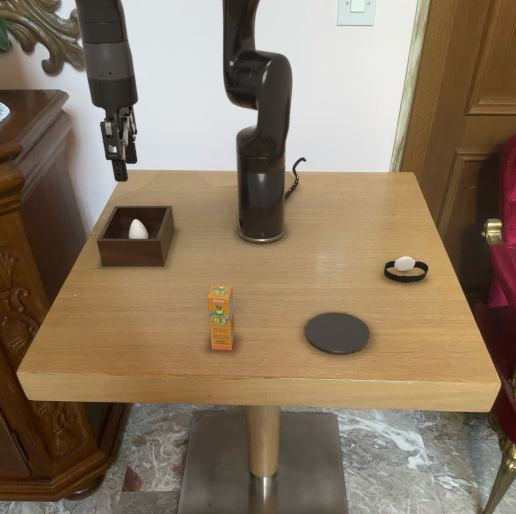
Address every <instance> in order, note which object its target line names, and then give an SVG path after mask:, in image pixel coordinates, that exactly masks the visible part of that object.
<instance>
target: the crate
mask: <svg viewBox="0 0 516 514" xmlns="http://www.w3.org/2000/svg"><path fill="white" fill-rule="evenodd" d="M173 215H174V213H173V207H172V205H114V206H113V208H112V210H111V212H110V214H109V216H108V218H107V220H106V222H105V224H104V226H103V228H102V229H101V231H100V233H99V235H98V237H97V239H96V245H97V249H98V253H99V257H100V261H101V262H100V263H101V267H164V266H165V265H166V261H167V257H168V254H169V251H170V247H171V243H172V241H173V237H174V234H175V231H176V230H175V222H174V216H173ZM135 219H137V220H139V221H140V222H141V223H142V224H143V225H144V227H145V228H146V230H147V232H148V237H149V238H148V239H129V230H130V226H131V224H132V222H133V221H134V220H135Z"/></svg>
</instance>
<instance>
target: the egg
mask: <svg viewBox="0 0 516 514" xmlns="http://www.w3.org/2000/svg"><path fill="white" fill-rule="evenodd" d="M148 238H149V237H148V232H147V230H146V228H145V227H144V225H143V224H142V223H141V222H140V221H139V220H137V219H135V220H134V221H133V222H132V224H131V226H130V230H129V239H148Z"/></svg>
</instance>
